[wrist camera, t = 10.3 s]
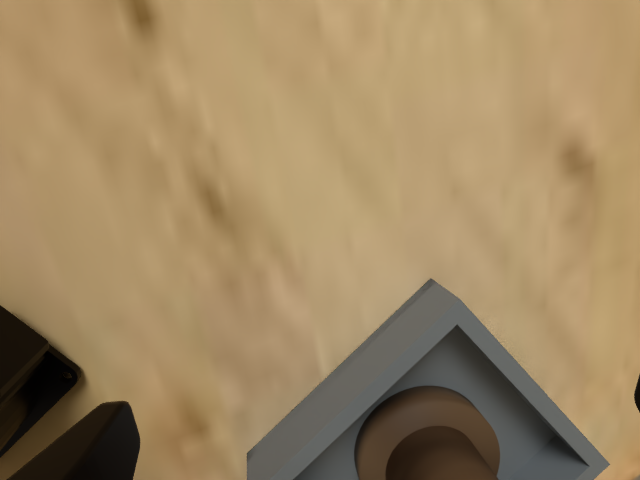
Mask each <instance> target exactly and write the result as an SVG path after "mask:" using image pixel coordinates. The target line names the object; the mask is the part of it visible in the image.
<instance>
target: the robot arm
mask: <svg viewBox="0 0 640 480" xmlns="http://www.w3.org/2000/svg"><path fill="white" fill-rule="evenodd" d="M63 372H67V373H69V374H70V375H71V376H72V378H66V377H64V375H63ZM80 377H81V370H80V368H79V367H78V366H77V365H76V364H75V363H73V362H72V361H71V360H69V359H68V358H67V357H65V356H64V355H63V354H61V353H60V352H59V351H57V350H56V349H55V348H53V347H52V346H51V345H49V344H48V341H47V340H46V339H45V338H43V337H42V336H41V335H39V334H38V333H37V332H35V331H34V330H33V329H31V328H30V327H29V326H27V325H26V324H25V323H23V322H22V321H21V320H19V319H18V318H17V317H15V316H14V315H13V314H11V313H10V312H9V311H7V310H6V309H5V308H3V307H2V306H0V457H1V456H2V455H3V454H4V453H5V452H6V451H8V450H9V449H10V448H11V447H12V446H13V445H14V444H15V443H16V442H17V441H18V440H19V439H20V438H21V437H22V436H23V435H24V434H25V433H26V432H27V431H28V430H29V429H30V428H31V427H32V426H33V425H34V424H35V423H36V422H37V421H38V420H39V419H40V418H41V417H42V416H43V415H44V414H45V413H46V412H47V411H48V410H49V409H50V408H52V407H53V406H54V405H55V404H56V403H57V402H58V401H59V400H60V399H61V398H62V397H63V396H64V395H65V394H66V393H67V392H68V391H69V390H70V389H71V388H72V387H73V386H74V385H75V384H76V382H77V381H78V380H79V378H80ZM634 399H635V403H636V406H637V408H638V410H639V412H640V375H639V379H638V382H637V386H636V389H635V393H634ZM139 450H140V436H139V432H138V428H137V425H136V422H135V419H134V415H133V412H132V409H131V406H130V404H129V403H128V402H126V401H115V402H105V403H102V404H100V405H99V406H97V407H96V408H95V409H94V410H92V411H91V412H90V413H89V414H88V415H86V416H85V417H84V418H83V419H81V420H80V421H79V422H78V423H76V424H75V425H74V426H73V427H71V428H70V429H69V430H68V431H67V432H65V433H64V434H63V435H62V436H60V437H59V438H58V439H57V440H55V441H54V442H53V443H52V444H50V445H49V446H48V447H47V448H46V449H44V450H43V451H42V452H41V453H39V454H38V455H37V456H36V457H34V458H33V459H32V460H31V461H29V462H28V463H27V464H26V465H24V466H23V467H22V468H21V469H20V470H18V471H17V472H16V473H15V474H13V475H12V476H11V477H10V478H8V479H7V480H133V476H134V472H135V467H136V463H137V459H138V454H139Z"/></svg>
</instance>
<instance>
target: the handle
mask: <svg viewBox="0 0 640 480" xmlns="http://www.w3.org/2000/svg"><path fill="white" fill-rule="evenodd" d="M354 461H355V467H356V471H357V474H358V477H359V480H499V479H498V478H497V477H496V476H497V473H498V470H499V464H500V447H499V442H498V439H497V436H496V434H495V432H494V430H493V428H492V427H491V425H490V424H489V423H488V422H487V420H486V419H485V418H484V417H483V415H482V414H481V413H480V412H479V411H478V409H477V408H476V407H475V406H474V405H473V404H472V402H471V401H470V400H468V399H467V398H466V397H465V396H463V395H462V394H460V393H459V392H456V391H454V390H452V389H449V388H445V387H441V386H417V387H413V388H409V389H406V390H403V391H400V392H398V393H396V394H394V395H392V396H390V397H389V398H387V399H386V400H384V401H383V402H382V403H380V404H379V405H378V406H377V407H376V408H375V409H374V410H373V411H372V412H371V413H370V414H369V415H368V417H367V418H366V420H365V421H364V423H363V424H362V426H361V428H360V430H359V433H358V435H357V438H356V442H355V448H354Z"/></svg>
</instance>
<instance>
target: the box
mask: <svg viewBox="0 0 640 480" xmlns="http://www.w3.org/2000/svg"><path fill="white" fill-rule="evenodd" d="M417 386H441V387H445V388H449V389H452V390H454V391H456V392H459V393H460V394H462V395H463V396H465V397H466V398H467V399H468V400H470V401H471V402H472V404H473V405H474V406H475V407H476V408H477V409H478V411H479V412H480V413H481V414H482V415H483V417H484V418H485V419H486V420H487V422H488V423H489V424H490V425H491V427H492V428H493V430H494V432H495V434H496V436H497V439H498V442H499V447H500V464H499V470H498V473H497V476H496V477H497V478H498V479H499V480H594V479H595V478H596V477H597V476H598V475H599V474H600V473H601V472H602V471H603V470H604V469H606V468H607V467H608V466H609V465H610V464H609V463H608V462H607V460H606V459H605V458H604V457H603V456H602V455H601V454H600V453H599V452H598V451H597V449H596V448H595V447H594V446H593V445H592V444H591V443H590V442H589V441H588V440H587V438H586V437H585V436H584V435H583V434H582V433H581V432H580V431H579V430H578V429H577V427H576V426H575V425H574V424H573V423H572V422H571V421H570V420H569V419H568V418H567V416H566V415H565V414H564V413H563V412H562V411H561V410H560V409H559V408H558V407H557V405H556V404H555V403H554V402H553V401H552V400H551V399H550V398H549V397H548V396H547V394H546V393H545V392H544V391H543V390H542V389H541V388H540V387H539V386H538V385H537V383H536V382H535V381H534V380H533V379H532V378H531V377H530V376H529V375H528V374H527V372H526V371H525V370H524V369H523V368H522V367H521V366H520V365H519V364H518V363H517V361H516V360H515V359H514V358H513V357H512V356H511V355H510V354H509V353H508V352H507V350H506V349H505V348H504V347H503V346H502V345H501V344H500V343H499V342H498V341H497V339H496V338H495V337H494V336H493V335H492V334H491V333H490V332H489V331H488V330H487V328H486V327H485V326H484V325H483V324H482V323H481V322H480V321H479V320H478V319H477V317H476V316H475V315H474V314H473V313H472V312H471V311H470V310H469V309H468V308H467V306H466V305H465V304H464V303H463V302H462V301H461V300H460V299H459V298H458V297H456V296H455V295H454V294H452V293H451V292H449V291H448V290H447V289H445V288H444V287H442V286H441V285H440V284H438V283H437V282H435V281H434V280H433V279H430V280H428V281H427V282H426V283H425V284H424V285H423V286H422V287H421V288H420V289H419V290H418V291H417V292H416V293H415V294H414V295H413V296H412V297H411V298H410V299H409V300H408V301H406V302H405V303H404V304H403V305H402V306H401V307H400V308H399V309H398V310H397V311H396V312H395V313H394V314H393V315H392V316H391V317H390V318H389V319H388V320H387V321H385V322H384V323H383V324H382V325H381V326H380V327H379V328H378V329H377V330H376V331H375V332H374V333H373V334H372V335H371V336H370V337H369V338H368V339H367V340H366V341H365V342H363V343H362V344H361V345H360V346H359V347H358V348H357V349H356V350H355V351H354V352H353V353H352V354H351V355H350V356H349V357H348V358H347V359H346V360H345V361H344V362H343V363H341V364H340V365H339V366H338V367H337V368H336V369H335V370H334V371H333V372H332V373H331V374H330V375H329V376H328V377H327V378H326V379H325V380H324V381H323V382H322V383H320V384H319V385H318V386H317V387H316V388H315V389H314V390H313V391H312V392H311V393H310V394H309V395H308V396H307V397H306V398H305V399H304V400H303V401H302V402H301V403H300V404H298V405H297V406H296V407H295V408H294V409H293V410H292V411H291V412H290V413H289V414H288V415H287V416H286V417H285V418H284V419H283V420H282V421H281V422H280V423H279V424H278V425H276V426H275V427H274V428H273V429H272V430H271V431H270V432H269V433H268V434H267V435H266V436H265V437H264V438H263V439H262V440H261V441H260V442H259V443H258V444H257V445H255V446H254V447H253V448H252V449H251V450H250V451H249V452H248V453H247V480H359V477H358V474H357V471H356V467H355V461H354V448H355V442H356V438H357V435H358V433H359V430H360V428H361V426H362V424H363V423H364V421H365V420H366V418H367V417H368V415H369V414H370V413H371V412H372V411H373V410H374V409H375V408H376V407H377V406H378V405H379V404H380V403H382V402H383V401H384V400H386V399H387V398H389V397H390V396H392V395H394V394H396V393H398V392H400V391H403V390H406V389H409V388H413V387H417Z"/></svg>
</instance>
